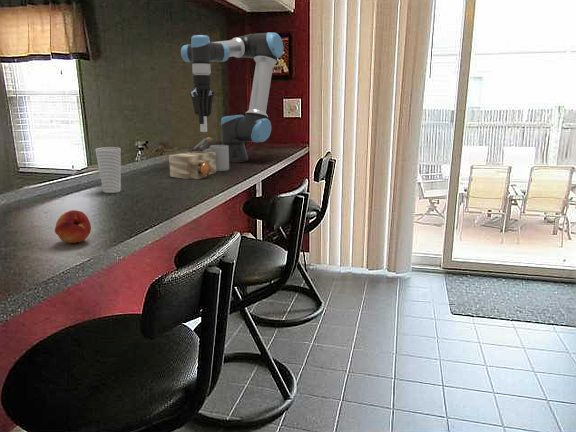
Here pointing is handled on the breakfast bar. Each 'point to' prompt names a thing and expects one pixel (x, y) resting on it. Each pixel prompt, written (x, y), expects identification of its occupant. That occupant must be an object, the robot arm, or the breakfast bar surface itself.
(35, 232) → the breakfast bar surface
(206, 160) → the block
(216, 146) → the mug
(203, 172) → the pin
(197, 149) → the plate
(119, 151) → the cup
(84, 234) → the fruit
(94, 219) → the breakfast bar surface
